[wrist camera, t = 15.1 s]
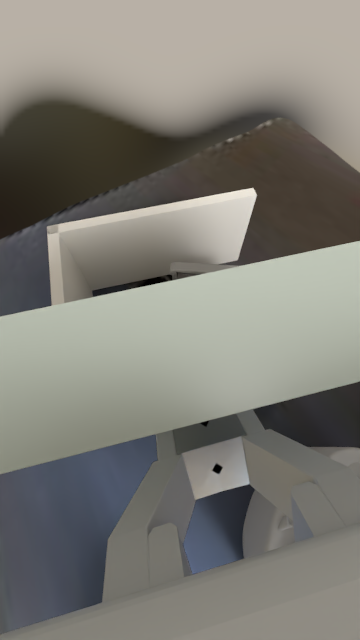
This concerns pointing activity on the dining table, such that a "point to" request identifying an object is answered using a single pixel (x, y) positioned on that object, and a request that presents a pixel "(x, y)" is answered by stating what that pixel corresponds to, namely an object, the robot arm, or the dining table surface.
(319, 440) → the dining table surface
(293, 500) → the robot arm
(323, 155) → the dining table surface
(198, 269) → the electrical switch
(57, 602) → the dining table surface
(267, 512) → the cat paw sculpture
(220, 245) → the channel
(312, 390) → the cover
